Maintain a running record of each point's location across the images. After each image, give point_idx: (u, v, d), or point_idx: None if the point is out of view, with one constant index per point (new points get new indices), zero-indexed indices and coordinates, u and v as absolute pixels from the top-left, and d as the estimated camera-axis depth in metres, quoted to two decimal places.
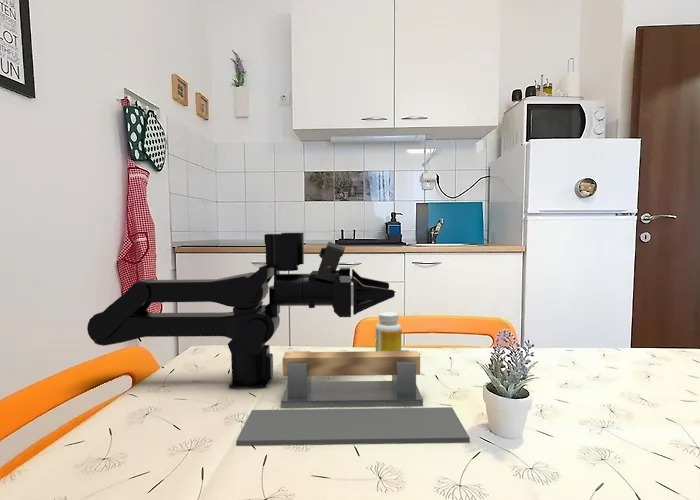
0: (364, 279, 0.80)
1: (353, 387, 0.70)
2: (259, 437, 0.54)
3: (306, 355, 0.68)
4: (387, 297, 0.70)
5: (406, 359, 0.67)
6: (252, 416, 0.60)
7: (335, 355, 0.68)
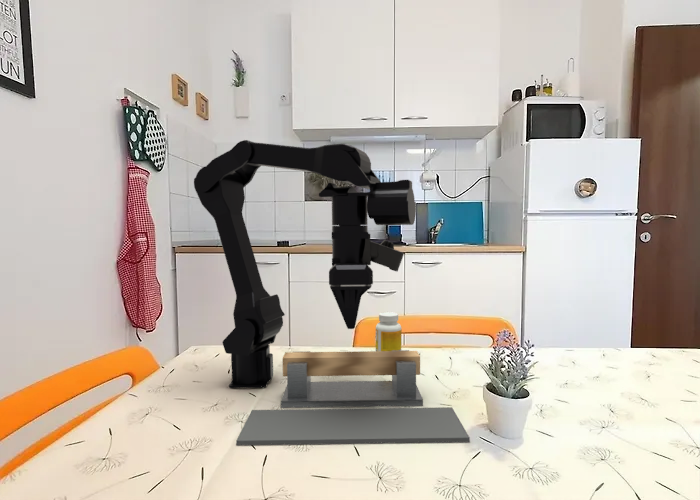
0: None
1: (353, 387, 0.70)
2: (259, 437, 0.54)
3: (306, 355, 0.68)
4: (347, 321, 0.63)
5: (406, 359, 0.67)
6: (252, 416, 0.60)
7: (335, 355, 0.68)
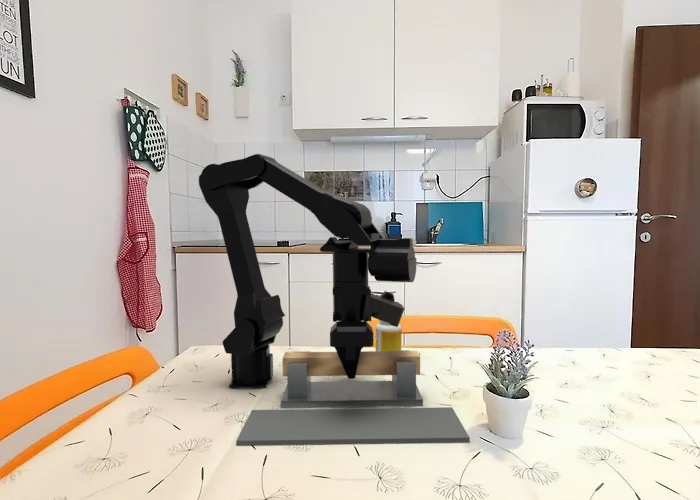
0: None
1: (353, 387, 0.70)
2: (259, 437, 0.54)
3: (306, 355, 0.68)
4: (347, 372, 0.66)
5: (406, 359, 0.67)
6: (252, 416, 0.60)
7: (335, 355, 0.68)
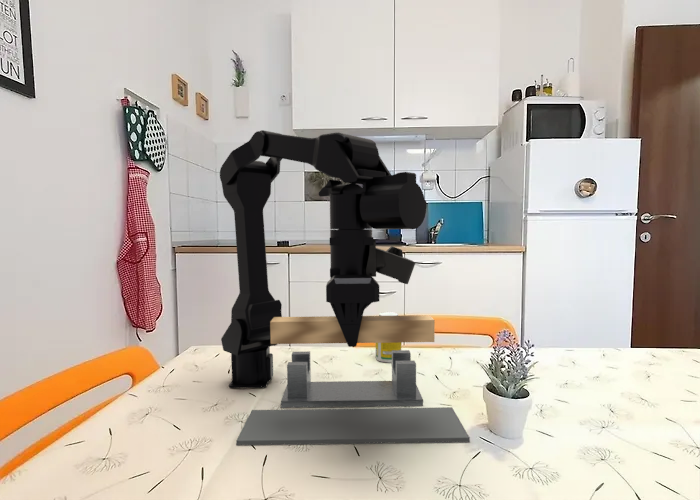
0: None
1: (353, 387, 0.70)
2: (259, 437, 0.54)
3: (298, 319, 0.57)
4: (347, 338, 0.56)
5: (418, 324, 0.56)
6: (252, 416, 0.60)
7: (333, 319, 0.57)
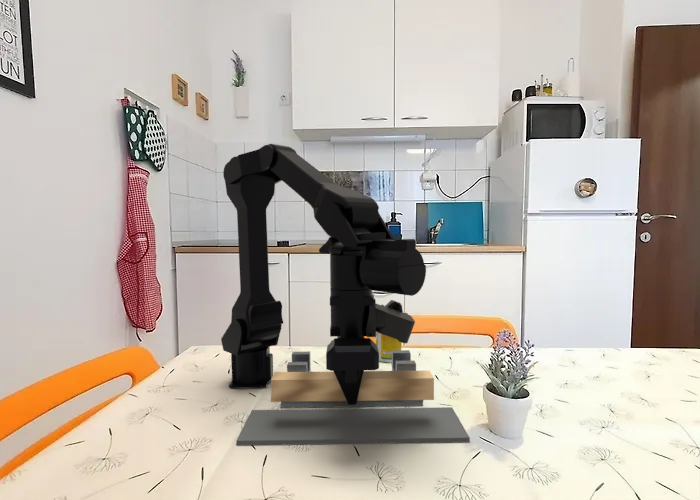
0: None
1: None
2: (259, 437, 0.54)
3: (299, 375, 0.58)
4: (347, 397, 0.56)
5: (418, 382, 0.57)
6: (252, 416, 0.60)
7: (333, 377, 0.57)
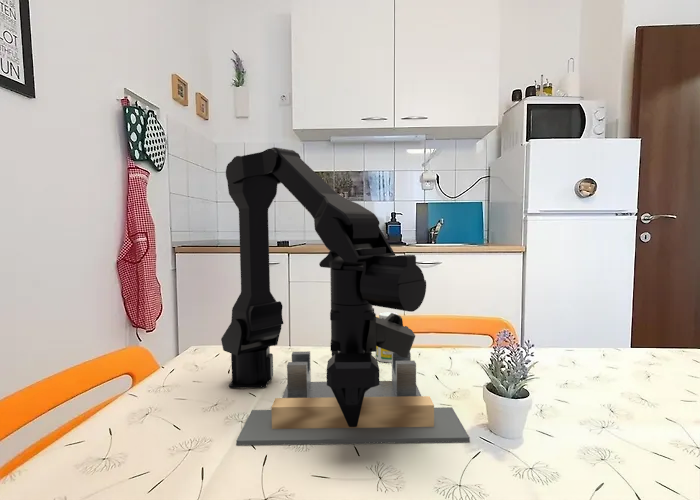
0: None
1: None
2: (259, 437, 0.54)
3: (299, 402, 0.58)
4: (348, 419, 0.54)
5: (418, 409, 0.57)
6: (252, 416, 0.60)
7: (333, 403, 0.57)
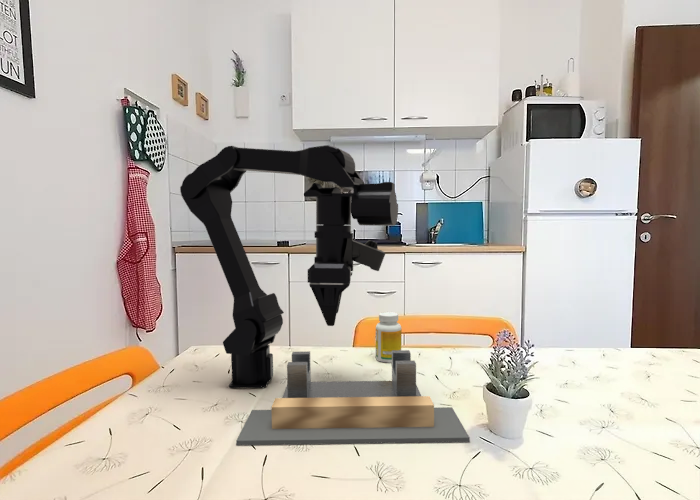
0: None
1: (353, 387, 0.70)
2: (259, 437, 0.54)
3: (299, 402, 0.58)
4: (326, 318, 0.65)
5: (418, 409, 0.57)
6: (252, 416, 0.60)
7: (333, 403, 0.57)
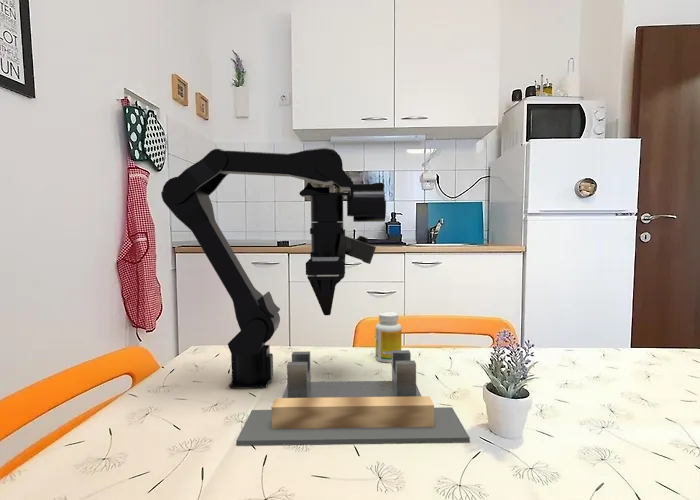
0: None
1: (353, 387, 0.70)
2: (259, 437, 0.54)
3: (299, 402, 0.58)
4: (323, 308, 0.70)
5: (418, 409, 0.57)
6: (252, 416, 0.60)
7: (333, 403, 0.57)
